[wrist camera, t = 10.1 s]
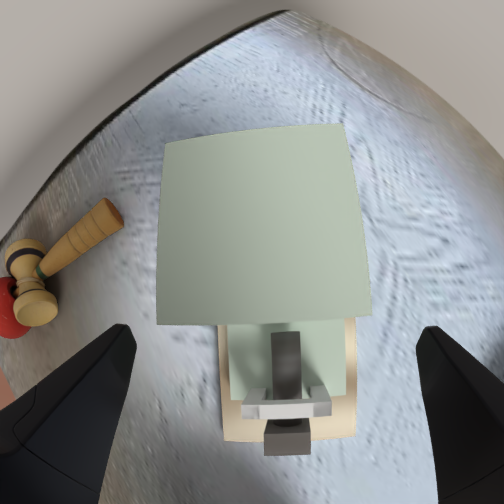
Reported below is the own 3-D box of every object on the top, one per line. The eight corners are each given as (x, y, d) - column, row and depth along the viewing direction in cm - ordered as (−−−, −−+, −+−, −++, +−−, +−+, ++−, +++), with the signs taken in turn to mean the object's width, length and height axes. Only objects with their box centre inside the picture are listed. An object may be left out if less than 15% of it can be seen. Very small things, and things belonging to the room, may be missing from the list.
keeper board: (352, 430, 17) (370, 465, 11) (227, 435, 18) (205, 470, 12) (331, 152, 21) (339, 107, 16) (219, 162, 23) (198, 120, 17)
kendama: (110, 189, 25) (-1, 290, 23) (82, 162, 19) (-38, 286, 16) (148, 254, 25) (26, 351, 22) (124, 240, 19) (-11, 359, 16)
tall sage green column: (342, 390, 16) (433, 529, 3) (234, 395, 17) (115, 526, 4) (336, 260, 18) (426, 126, 5) (229, 267, 19) (93, 160, 5)
